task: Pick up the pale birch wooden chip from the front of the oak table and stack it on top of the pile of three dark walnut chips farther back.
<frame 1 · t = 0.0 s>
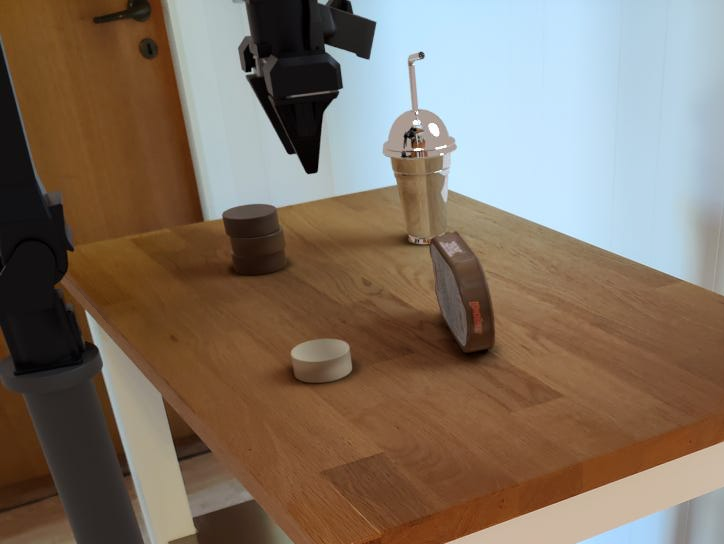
hand: (302, 163, 97), 13 cm above the table, tool pointing down, fingers open, 9 cm apart
chip pile: (260, 266, 114), on the table
cup with straw: (426, 241, 118), on the table
birch chip: (323, 371, 89), on the table
tin: (463, 337, 94), on the table
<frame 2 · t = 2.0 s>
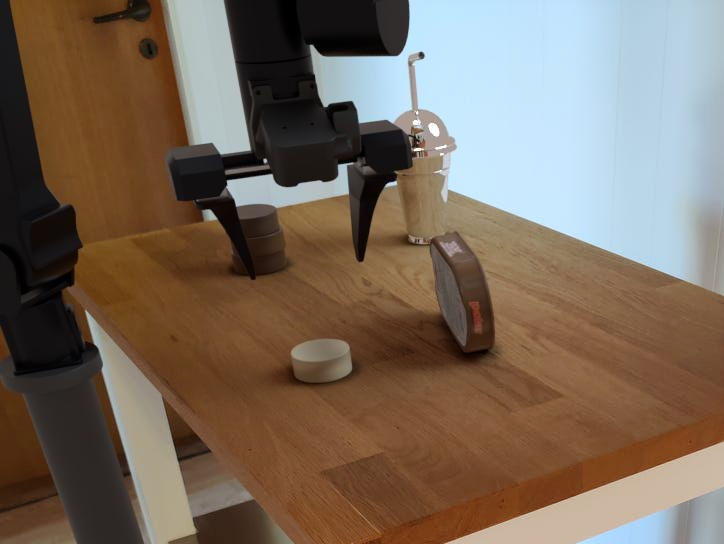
hand: (307, 269, 84), 9 cm above the table, tool pointing down, fingers open, 9 cm apart
nothing on the table moved.
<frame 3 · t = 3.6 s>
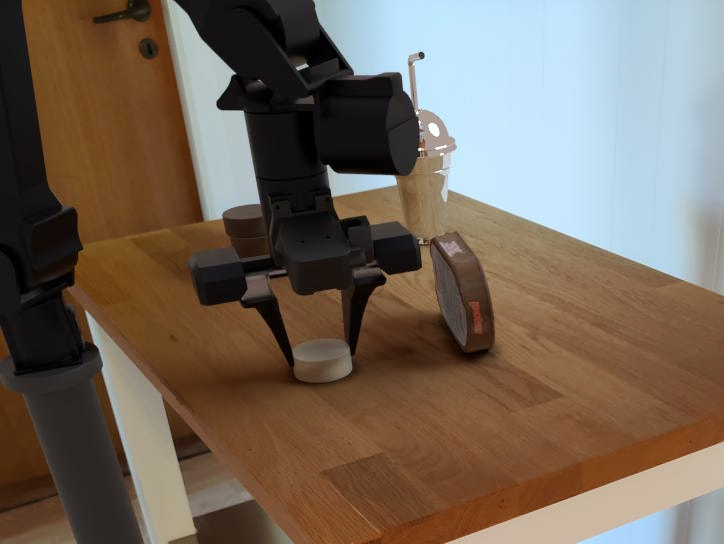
hand: (321, 360, 88), 1 cm above the table, tool pointing down, fingers closed on birch chip, 5 cm apart
birch chip: (323, 371, 89), on the table, touching gripper
everything else where it was.
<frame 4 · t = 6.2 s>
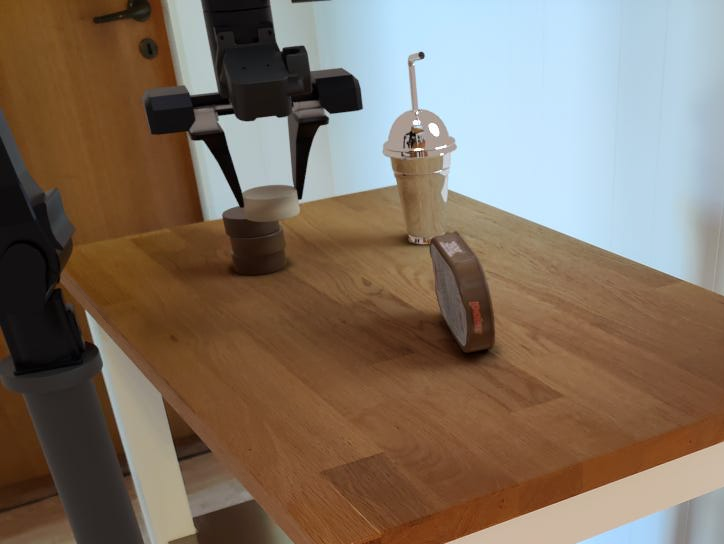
hand: (270, 202, 93), 11 cm above the table, tool pointing down, fingers closed on birch chip, 5 cm apart
birch chip: (272, 214, 94), point 10 cm above the table, touching gripper
everything else where it was.
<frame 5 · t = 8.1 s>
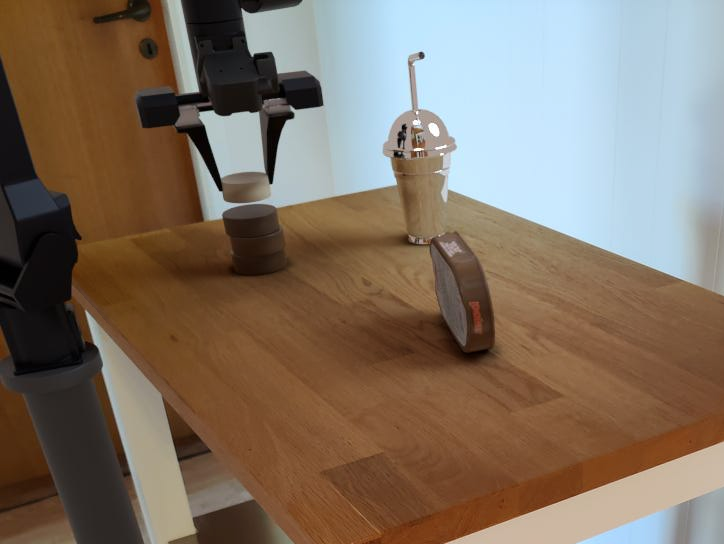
hand: (245, 187, 108), 9 cm above the table, tool pointing down, fingers closed on birch chip, 5 cm apart
birch chip: (247, 197, 109), point 8 cm above the table, touching gripper
everything else where it was.
when the fingers open (7 cm above the table, at t = 9.0 s): birch chip stays where it is, resting on chip pile.
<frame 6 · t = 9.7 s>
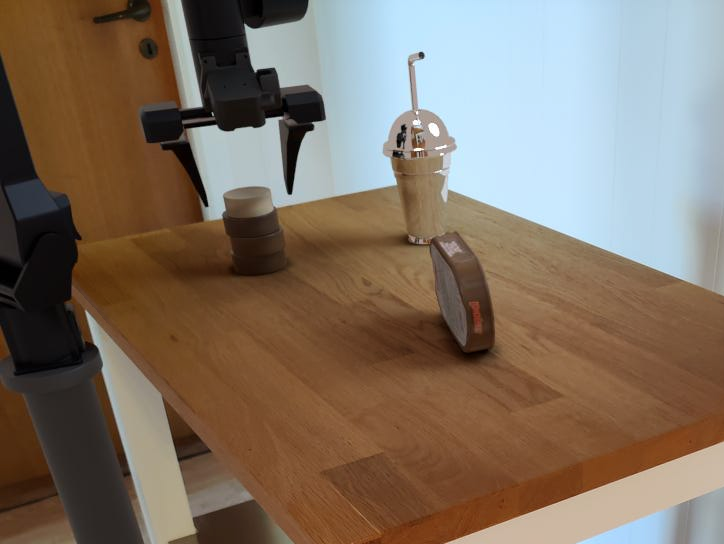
hand: (248, 200, 109), 7 cm above the table, tool pointing down, fingers open, 9 cm apart
chip pile: (260, 266, 114), on the table, touching birch chip
birch chip: (250, 211, 110), point 6 cm above the table, touching chip pile
everything else where it was.
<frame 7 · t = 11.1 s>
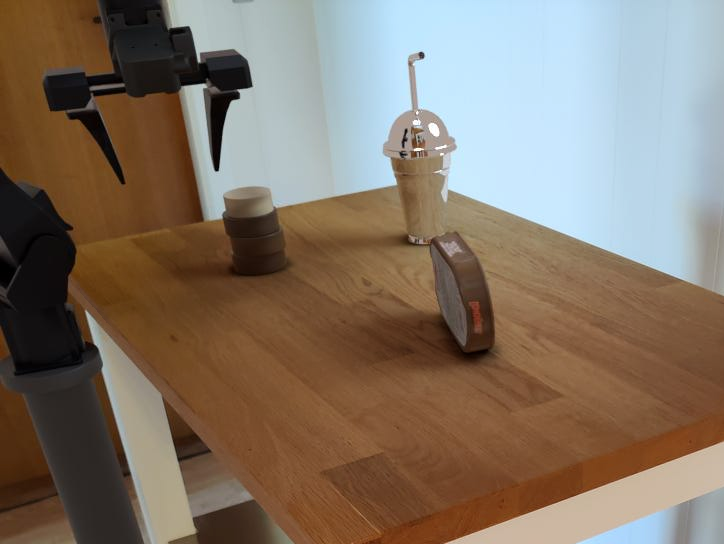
hand: (170, 177, 99), 12 cm above the table, tool pointing down, fingers open, 9 cm apart
nothing on the table moved.
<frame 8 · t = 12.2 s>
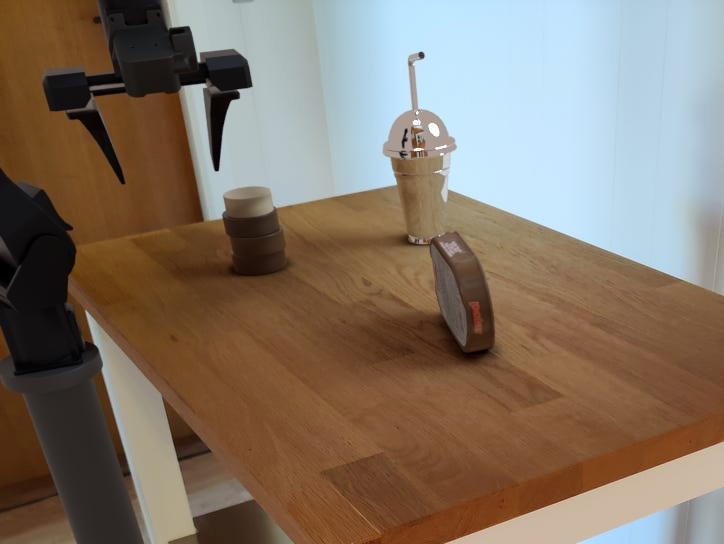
hand: (170, 177, 99), 12 cm above the table, tool pointing down, fingers open, 9 cm apart
nothing on the table moved.
at the end: birch chip 0.1 cm off-centre on the chip pile, point 6.0 cm above the chip pile's base; birch chip tilted 0°; the gripper is holding nothing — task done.
